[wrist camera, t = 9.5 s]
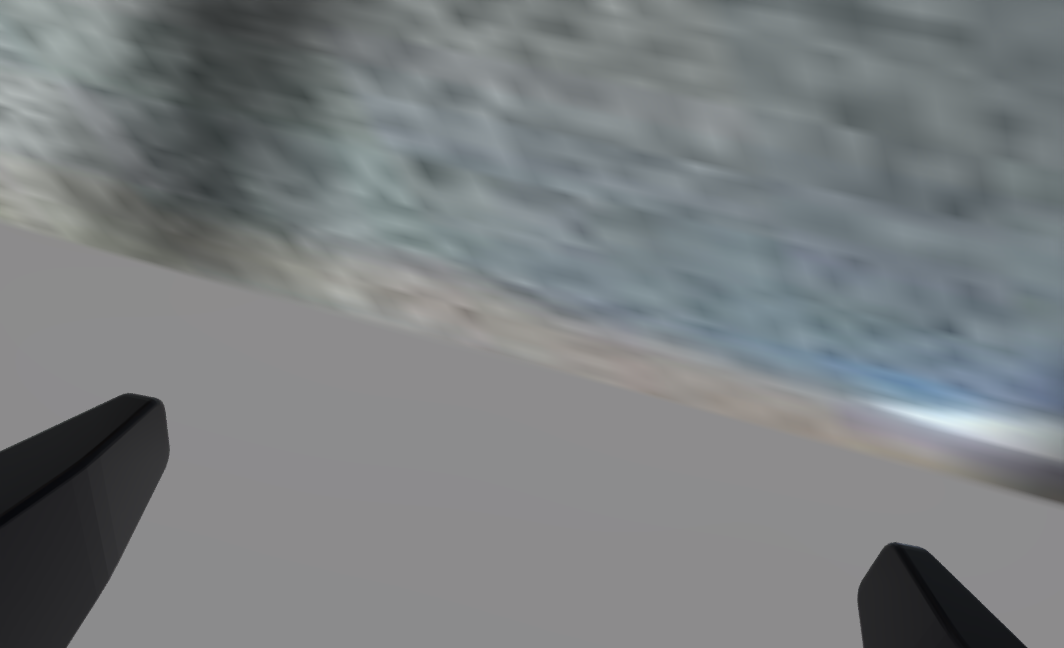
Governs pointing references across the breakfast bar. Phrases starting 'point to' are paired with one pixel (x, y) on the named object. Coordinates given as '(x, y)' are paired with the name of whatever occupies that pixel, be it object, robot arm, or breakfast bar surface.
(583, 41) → the breakfast bar surface
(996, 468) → the breakfast bar surface
